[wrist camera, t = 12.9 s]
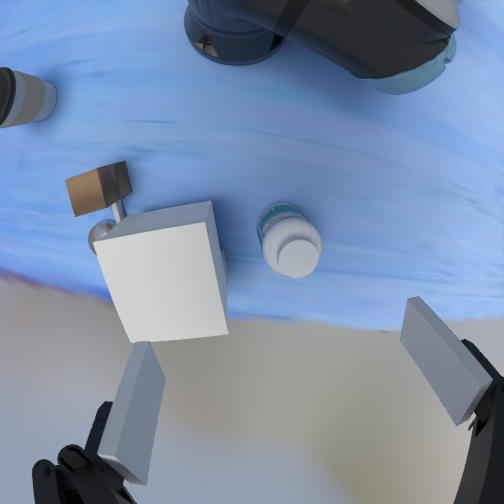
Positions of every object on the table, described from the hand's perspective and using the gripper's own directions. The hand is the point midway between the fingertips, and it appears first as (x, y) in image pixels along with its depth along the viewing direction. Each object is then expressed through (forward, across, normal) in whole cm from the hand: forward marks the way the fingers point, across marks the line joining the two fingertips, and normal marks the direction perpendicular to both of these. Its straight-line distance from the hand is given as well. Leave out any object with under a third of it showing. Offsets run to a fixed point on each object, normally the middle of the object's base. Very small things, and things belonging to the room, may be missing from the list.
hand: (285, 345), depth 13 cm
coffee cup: (+32, -32, +24) cm, 51 cm away
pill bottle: (+32, +4, -4) cm, 32 cm away
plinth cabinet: (+32, -11, -4) cm, 34 cm away
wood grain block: (+32, -20, +2) cm, 37 cm away
